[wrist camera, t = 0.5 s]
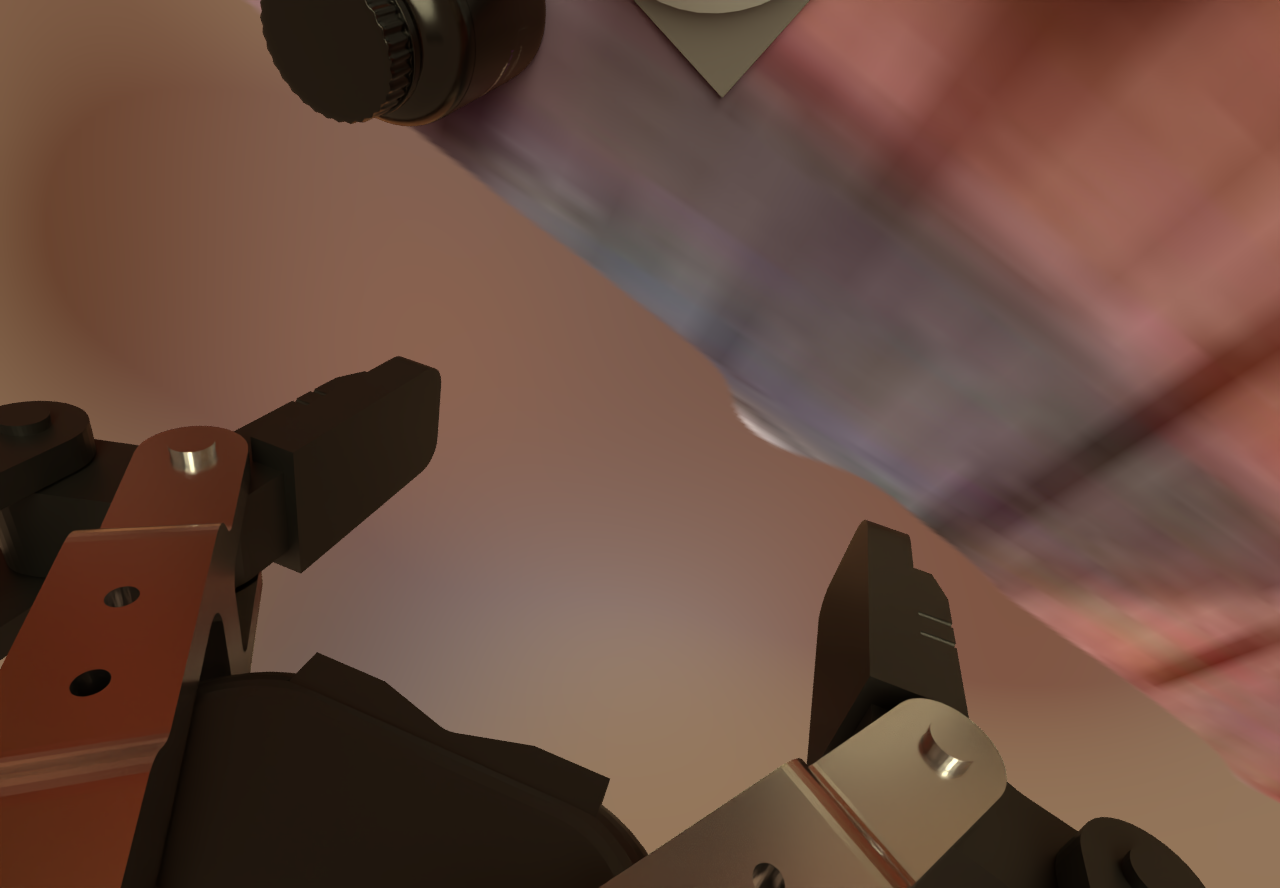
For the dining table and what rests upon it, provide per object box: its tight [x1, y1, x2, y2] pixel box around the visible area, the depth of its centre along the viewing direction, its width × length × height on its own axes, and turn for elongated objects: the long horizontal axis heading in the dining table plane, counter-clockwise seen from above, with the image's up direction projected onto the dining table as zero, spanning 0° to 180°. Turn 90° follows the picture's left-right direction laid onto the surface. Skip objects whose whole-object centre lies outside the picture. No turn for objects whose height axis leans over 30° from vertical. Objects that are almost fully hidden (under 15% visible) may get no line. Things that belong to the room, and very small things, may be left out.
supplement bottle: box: [260, 0, 546, 126], centre depth 26 cm, size 7×7×12 cm
